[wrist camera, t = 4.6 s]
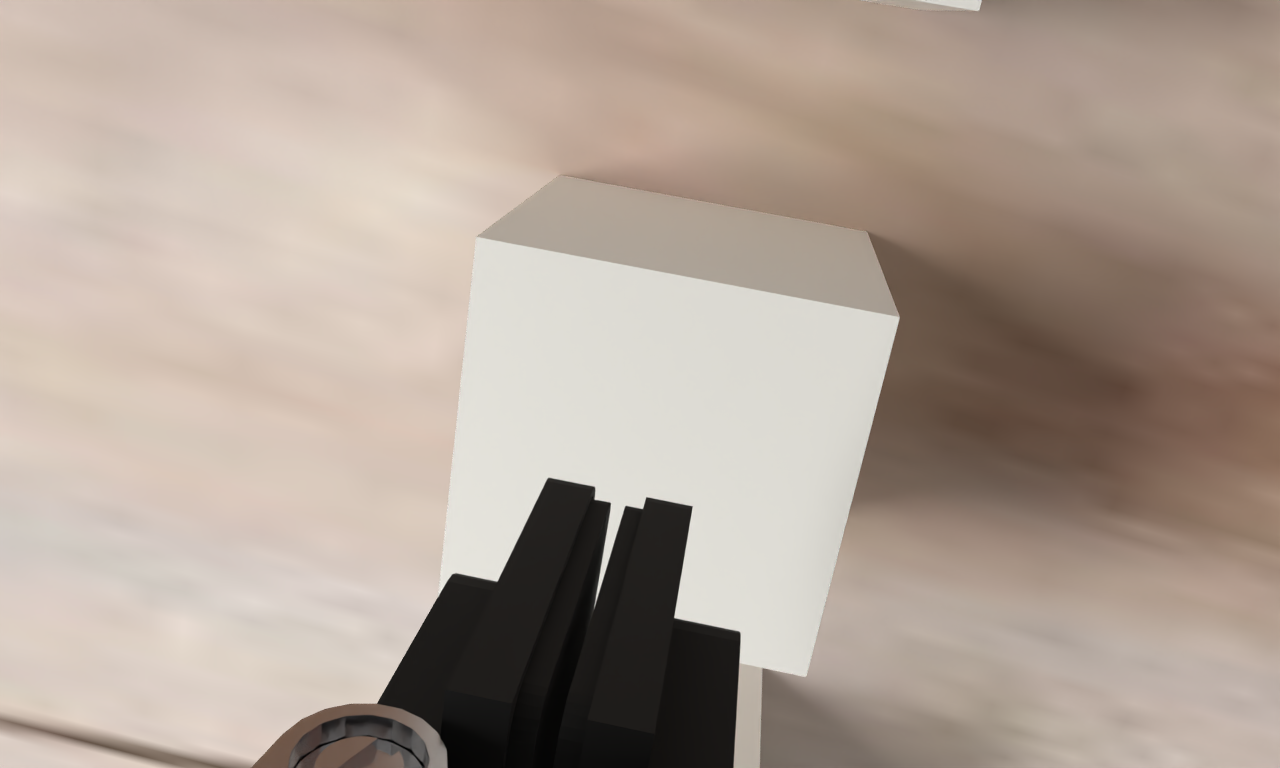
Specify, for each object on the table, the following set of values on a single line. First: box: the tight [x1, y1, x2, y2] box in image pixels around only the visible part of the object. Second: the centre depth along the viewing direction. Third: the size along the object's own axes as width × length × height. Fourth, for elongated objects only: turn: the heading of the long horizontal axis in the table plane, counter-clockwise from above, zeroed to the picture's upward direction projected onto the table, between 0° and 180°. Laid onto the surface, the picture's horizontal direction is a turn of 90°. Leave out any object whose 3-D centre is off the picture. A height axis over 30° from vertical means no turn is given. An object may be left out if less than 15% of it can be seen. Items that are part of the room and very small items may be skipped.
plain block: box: [438, 175, 900, 677], centre depth 18 cm, size 6×6×6 cm
